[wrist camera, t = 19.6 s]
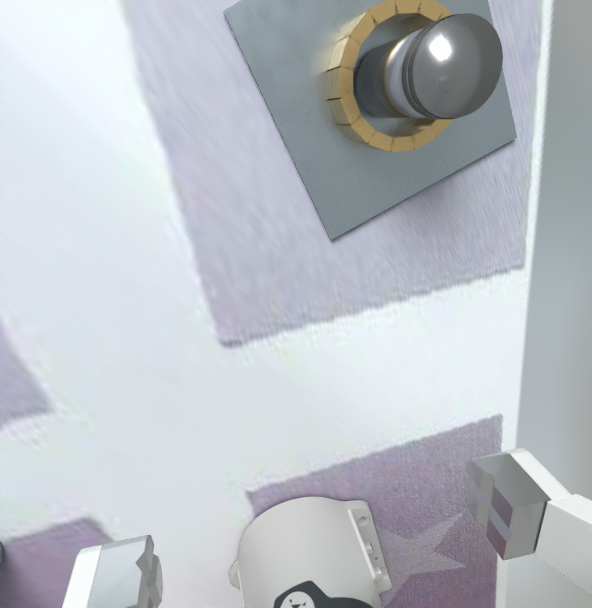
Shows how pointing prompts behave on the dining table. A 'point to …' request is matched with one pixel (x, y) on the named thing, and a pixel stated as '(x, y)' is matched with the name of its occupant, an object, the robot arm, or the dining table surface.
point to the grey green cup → (1, 553)
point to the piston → (433, 70)
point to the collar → (357, 102)
